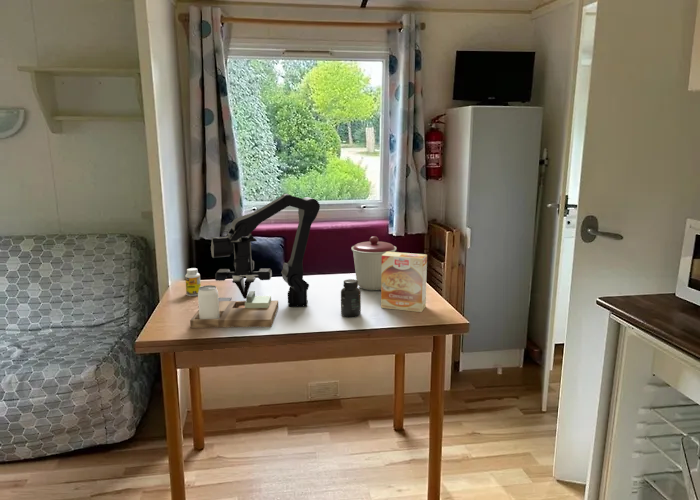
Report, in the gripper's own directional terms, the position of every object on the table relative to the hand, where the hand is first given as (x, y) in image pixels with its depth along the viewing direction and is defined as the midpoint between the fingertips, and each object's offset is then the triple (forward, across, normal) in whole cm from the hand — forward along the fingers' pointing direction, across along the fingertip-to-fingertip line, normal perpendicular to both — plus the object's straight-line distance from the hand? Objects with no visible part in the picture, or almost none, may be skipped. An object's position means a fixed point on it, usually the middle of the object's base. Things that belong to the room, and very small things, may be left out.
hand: (245, 298), depth 184 cm
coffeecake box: (+5, -56, -3) cm, 56 cm away
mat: (+5, +13, -10) cm, 17 cm away
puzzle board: (+5, +2, +6) cm, 8 cm away
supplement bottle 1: (+5, +24, -21) cm, 33 cm away
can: (+5, +10, +11) cm, 15 cm away
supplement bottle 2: (+5, -37, +4) cm, 38 cm away
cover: (+2, -5, 0) cm, 5 cm away
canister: (+5, -47, -29) cm, 55 cm away
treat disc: (+5, +1, 0) cm, 5 cm away
